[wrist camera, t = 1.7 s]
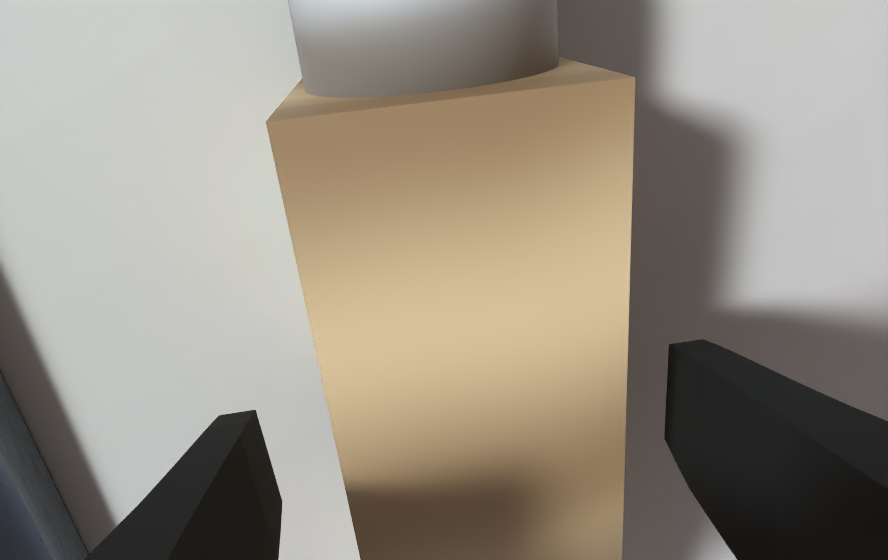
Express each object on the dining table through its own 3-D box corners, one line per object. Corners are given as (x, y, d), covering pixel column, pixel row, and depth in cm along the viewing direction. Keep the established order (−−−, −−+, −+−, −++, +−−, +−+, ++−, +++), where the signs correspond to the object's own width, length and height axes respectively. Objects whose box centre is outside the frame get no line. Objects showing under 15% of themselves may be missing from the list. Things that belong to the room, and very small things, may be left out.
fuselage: (546, 532, 16) (650, 832, 10) (395, 557, 16) (413, 880, 10) (521, -78, 10) (723, -185, 5) (283, -53, 10) (171, -132, 4)
